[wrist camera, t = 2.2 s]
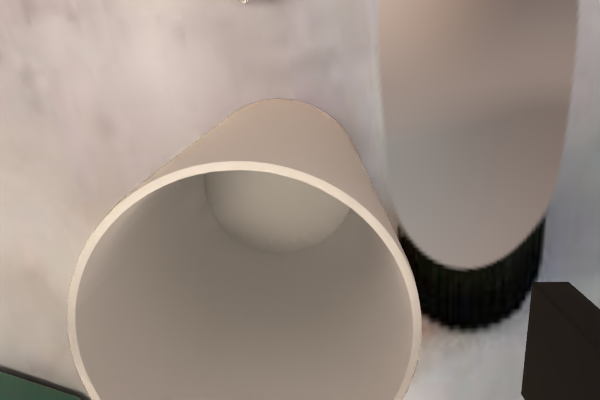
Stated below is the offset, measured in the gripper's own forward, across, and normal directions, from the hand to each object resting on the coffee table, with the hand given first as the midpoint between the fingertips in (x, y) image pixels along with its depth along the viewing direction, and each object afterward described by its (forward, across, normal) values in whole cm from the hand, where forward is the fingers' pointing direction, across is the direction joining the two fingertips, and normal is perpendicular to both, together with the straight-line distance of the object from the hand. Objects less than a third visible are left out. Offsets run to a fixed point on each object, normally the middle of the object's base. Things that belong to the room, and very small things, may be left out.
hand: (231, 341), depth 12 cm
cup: (+17, 0, 0) cm, 17 cm away
